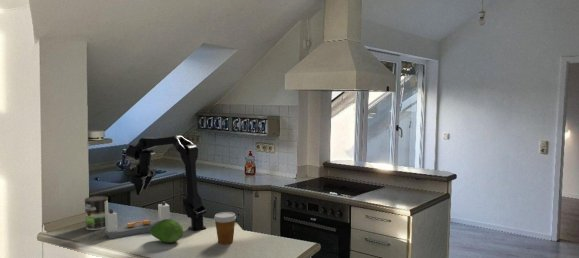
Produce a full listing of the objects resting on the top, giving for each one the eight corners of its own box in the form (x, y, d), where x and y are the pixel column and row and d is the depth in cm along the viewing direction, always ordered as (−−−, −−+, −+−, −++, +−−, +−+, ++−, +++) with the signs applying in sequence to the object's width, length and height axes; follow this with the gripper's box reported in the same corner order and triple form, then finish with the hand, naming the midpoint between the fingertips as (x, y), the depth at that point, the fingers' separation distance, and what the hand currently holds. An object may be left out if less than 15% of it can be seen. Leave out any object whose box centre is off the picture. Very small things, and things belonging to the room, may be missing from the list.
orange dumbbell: (150, 223, 217) (150, 220, 217) (128, 227, 211) (128, 223, 211) (148, 222, 219) (148, 219, 219) (127, 226, 214) (126, 223, 214)
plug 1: (118, 230, 208) (116, 210, 207) (108, 232, 206) (107, 211, 205) (115, 228, 212) (114, 207, 211) (106, 229, 210) (105, 209, 209)
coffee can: (97, 231, 216) (96, 201, 214) (81, 228, 220) (79, 199, 218) (113, 225, 225) (112, 196, 224) (97, 222, 229) (96, 195, 228)
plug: (170, 221, 221) (169, 202, 220) (161, 223, 219) (161, 203, 218) (166, 219, 225) (166, 200, 224) (158, 220, 223) (157, 201, 222)
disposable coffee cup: (227, 247, 192) (226, 219, 191) (209, 243, 198) (209, 215, 196) (241, 240, 201) (240, 213, 199) (224, 236, 206) (223, 210, 204)
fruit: (145, 242, 199) (144, 220, 198) (161, 235, 208) (160, 214, 207) (172, 247, 193) (172, 224, 192) (188, 240, 201) (187, 218, 200)
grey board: (171, 227, 220) (171, 222, 219) (109, 238, 205) (109, 233, 204) (166, 223, 226) (165, 218, 226) (105, 234, 211) (105, 228, 211)
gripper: (135, 155, 237) (132, 184, 240) (120, 163, 219) (117, 195, 221) (157, 158, 237) (153, 187, 239) (143, 167, 218) (140, 199, 221)
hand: (141, 192), depth 230 cm, fingers open, 9 cm apart
